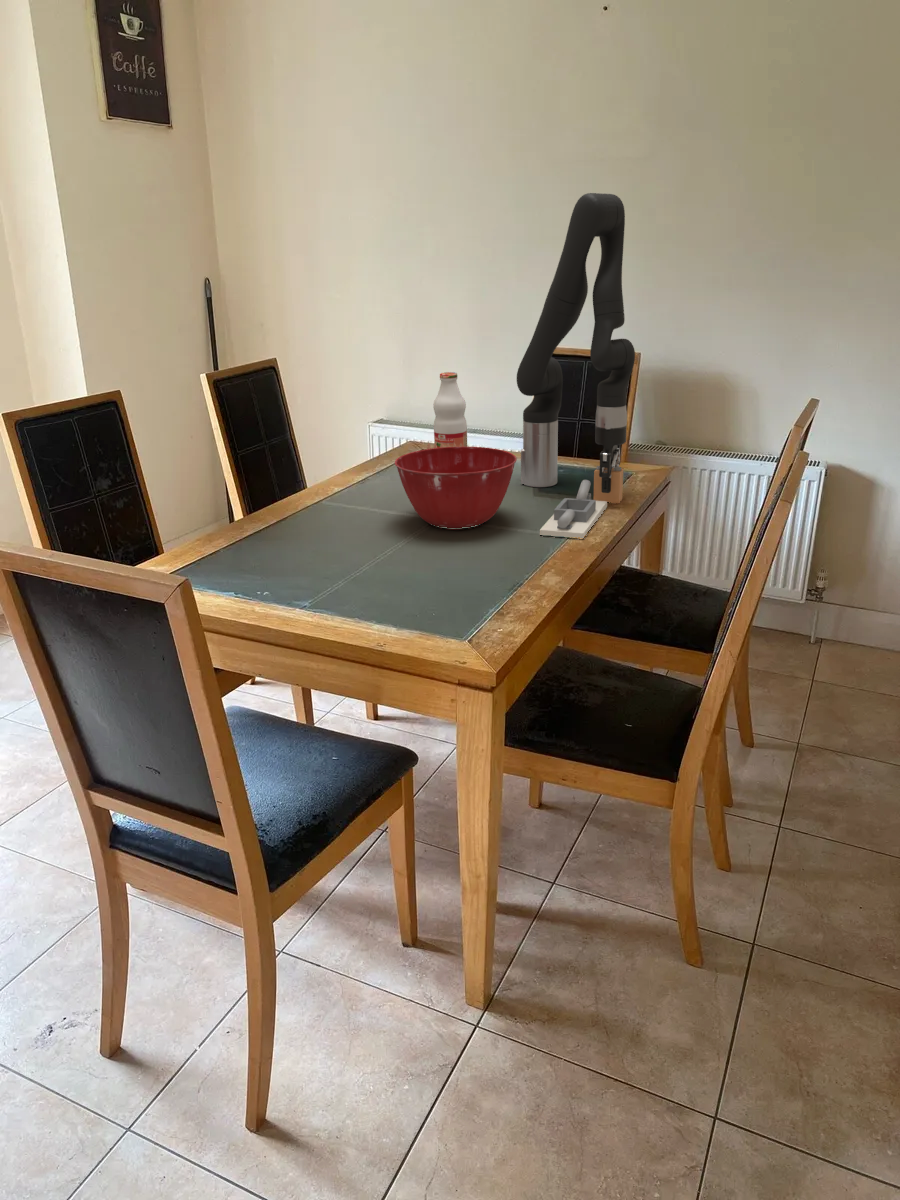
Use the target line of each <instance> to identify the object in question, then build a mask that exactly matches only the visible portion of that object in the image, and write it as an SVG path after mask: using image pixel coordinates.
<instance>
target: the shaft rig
mask: <svg viewBox="0 0 900 1200" xmlns="http://www.w3.org/2000/svg"><path fill="white" fill-rule="evenodd" d="M591 486H592V482H591V481H590V480H588V479H583V480H581V483H580V485H579V488H578V491H577V495H576V498H571V497H569V498H568V497H567V498H566V497H564V498H563V499H562V500H560V502H559V503H558V505H557V506H556V507H555V508H554V509H553V514H552V516H551V517H549V519H548V520H547V521H546V522H545V524H543V525H542V527H541V528H540V529H539V536H540V535H551V536H564V537H577V538H578V537H580V538H584V536H585V535H586V534H587V532H588V531H589V530H590V529H591V527H592V526H593V525H594V526H595V524H596V523H597V522H598V520H599V519H600V518H601V516H602V515H603V513H604V512H605V511H606V509H607V508H608V503H607V501H596V500H593V499H592V493H589V491H590V489H591ZM604 510H605V511H604ZM603 511H604V512H603ZM601 514H602V515H601ZM599 517H600V518H599ZM598 518H599V519H598ZM596 521H597V522H596ZM595 522H596V523H595ZM594 523H595V524H594ZM594 526H593V527H594ZM593 527H592V528H593ZM591 530H592V529H591ZM591 530H590V531H591ZM590 531H589V532H590ZM587 535H588V534H587ZM587 535H586V536H587ZM584 539H585V538H584Z"/></svg>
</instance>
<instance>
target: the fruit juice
mask: <svg viewBox="0 0 900 1200" xmlns="http://www.w3.org/2000/svg"><path fill="white" fill-rule="evenodd" d="M457 380H458V373H457V372H454V371H453V372H451V371H450V372H449V371H446V372H441V373H439V381H440V386H439V389H438V392H437V395H436V397H435V399H434V401H433V411H434V414H435V418H434V421H433V436H434V437H433V438H434V441H433V443H434V444H435V443H436V445H437V448H440V445H441V443H442V444H443V447H447V444H448V443H449V446H450V447H453V445H454V443H455V444H456V447H459V446H460V443H461V444H462V446H463V447H468V425H467V424H468V423H467V419H466V417H465V412H466V408H467V406H466V405H467V404H466V403H467V402H466V401H465V398H464V397H463V395H462V394H461V391H460V389H459V386H458V383H457V382H458V381H457ZM434 444H433V445H434Z"/></svg>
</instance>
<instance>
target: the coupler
mask: <svg viewBox="0 0 900 1200" xmlns="http://www.w3.org/2000/svg"><path fill="white" fill-rule="evenodd" d="M599 471H600V465H596V469H595V470H594V471H593V473H594V474H593V499H592V500H596V501H607V502H609V503H608V504H616V503H619V504H620V503H621V502H622V501H623V493H624V492H623V489H624V487H623V485H624V468H622V467H621V466H619V467H615V469H614V470H613V471H612V477H611V492H610V493H602V478H601V477H599ZM607 471H608V470H604V472H607ZM620 501H621V502H620ZM610 502H611V503H610Z"/></svg>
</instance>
